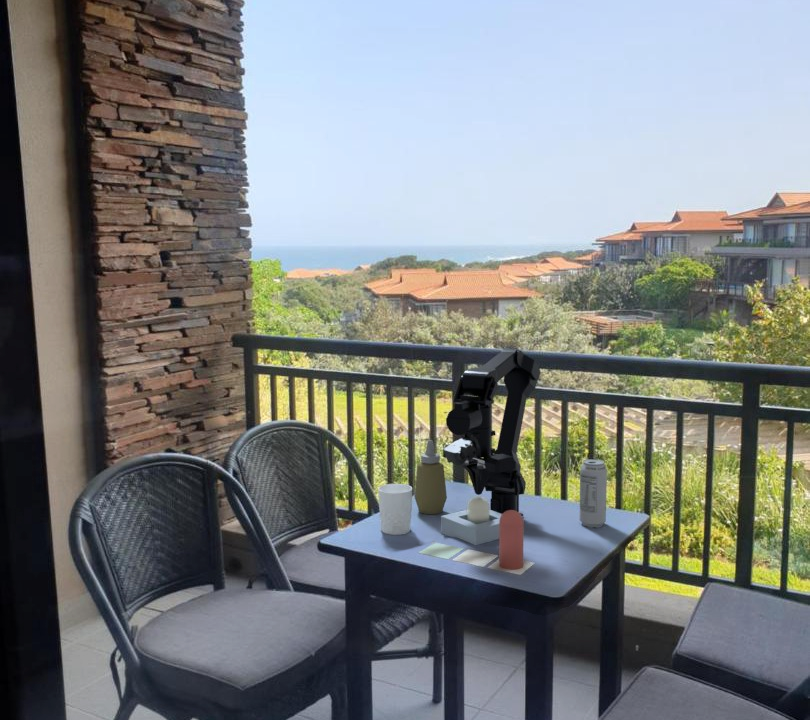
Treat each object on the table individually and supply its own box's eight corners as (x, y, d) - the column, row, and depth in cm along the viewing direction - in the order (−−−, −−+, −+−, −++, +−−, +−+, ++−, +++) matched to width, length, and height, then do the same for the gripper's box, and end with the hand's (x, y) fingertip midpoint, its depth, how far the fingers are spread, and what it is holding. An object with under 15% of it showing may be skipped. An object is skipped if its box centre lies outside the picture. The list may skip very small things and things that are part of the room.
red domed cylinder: (511, 559, 164) (511, 505, 163) (528, 566, 160) (528, 511, 159) (494, 564, 161) (494, 509, 160) (510, 571, 157) (511, 515, 156)
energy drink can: (611, 525, 186) (612, 463, 184) (590, 529, 183) (591, 466, 181) (594, 518, 191) (595, 457, 189) (574, 522, 188) (575, 460, 187)
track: (539, 565, 162) (539, 562, 162) (523, 579, 155) (523, 576, 155) (433, 543, 175) (433, 541, 175) (413, 555, 168) (413, 553, 168)
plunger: (479, 515, 184) (479, 492, 183) (494, 521, 180) (494, 497, 179) (462, 519, 181) (462, 496, 180) (477, 525, 177) (477, 501, 176)
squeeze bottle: (407, 510, 198) (407, 440, 196) (432, 504, 203) (432, 435, 201) (428, 518, 192) (427, 445, 190) (453, 512, 197) (453, 440, 195)
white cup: (409, 537, 179) (408, 493, 178) (375, 535, 181) (374, 492, 180) (415, 525, 187) (415, 484, 186) (383, 523, 189) (382, 482, 188)
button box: (480, 522, 189) (480, 506, 188) (516, 536, 179) (516, 518, 179) (441, 533, 182) (441, 516, 181) (475, 547, 172) (475, 529, 172)
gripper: (424, 424, 180) (424, 491, 182) (479, 438, 165) (479, 511, 167) (461, 418, 187) (462, 482, 189) (518, 431, 172) (517, 501, 174)
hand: (478, 494), depth 180 cm, fingers closed
